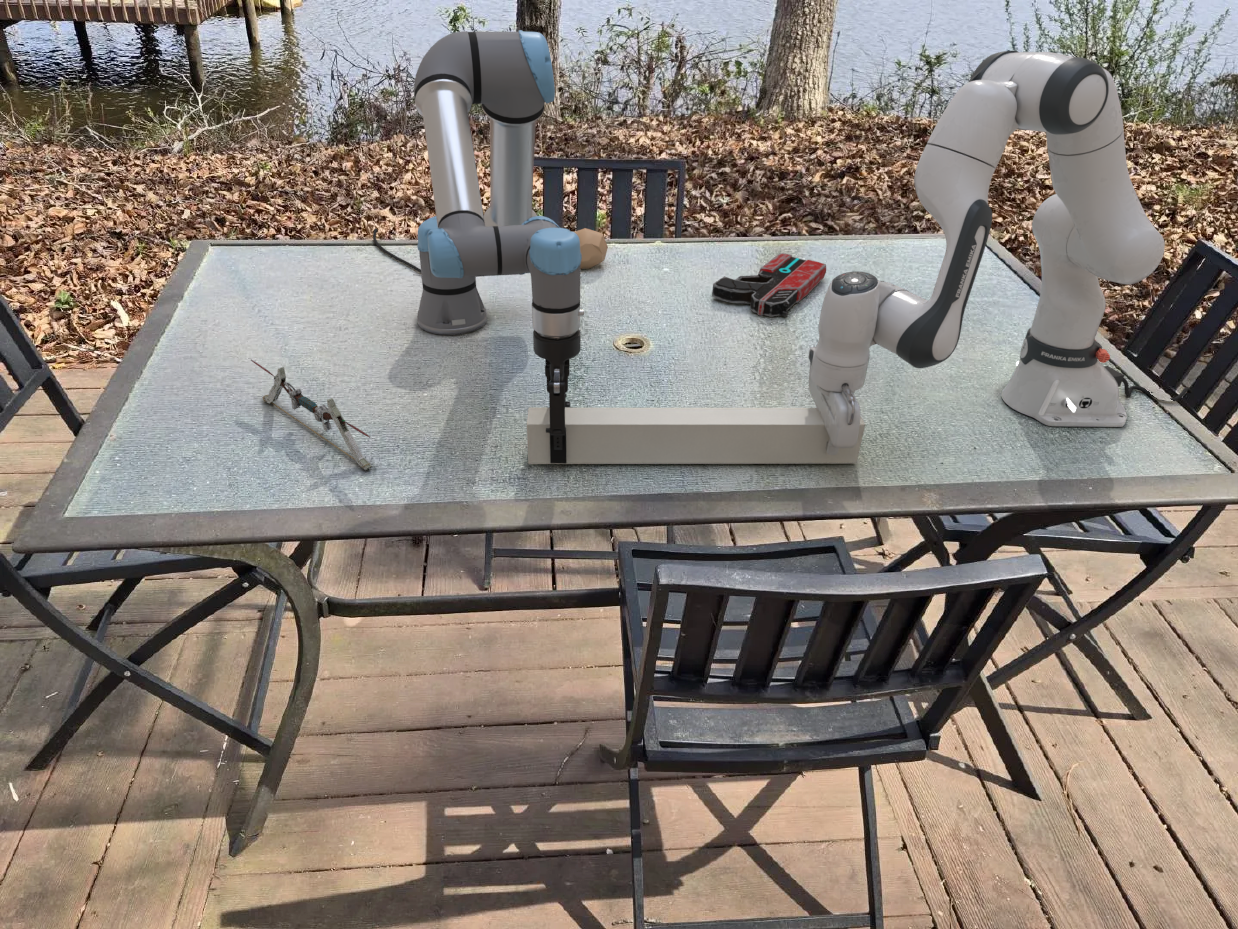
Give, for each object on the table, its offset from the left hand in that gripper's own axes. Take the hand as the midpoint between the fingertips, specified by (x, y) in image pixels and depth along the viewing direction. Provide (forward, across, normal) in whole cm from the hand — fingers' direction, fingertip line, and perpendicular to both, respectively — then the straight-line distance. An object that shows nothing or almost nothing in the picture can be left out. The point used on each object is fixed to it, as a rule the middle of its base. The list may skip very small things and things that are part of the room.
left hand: (558, 451), depth 151 cm
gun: (+2, +75, -51) cm, 90 cm away
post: (+1, 0, -23) cm, 23 cm away
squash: (+2, +91, -1) cm, 91 cm away
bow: (+1, +8, +44) cm, 44 cm away
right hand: (-2, 0, -46) cm, 47 cm away
